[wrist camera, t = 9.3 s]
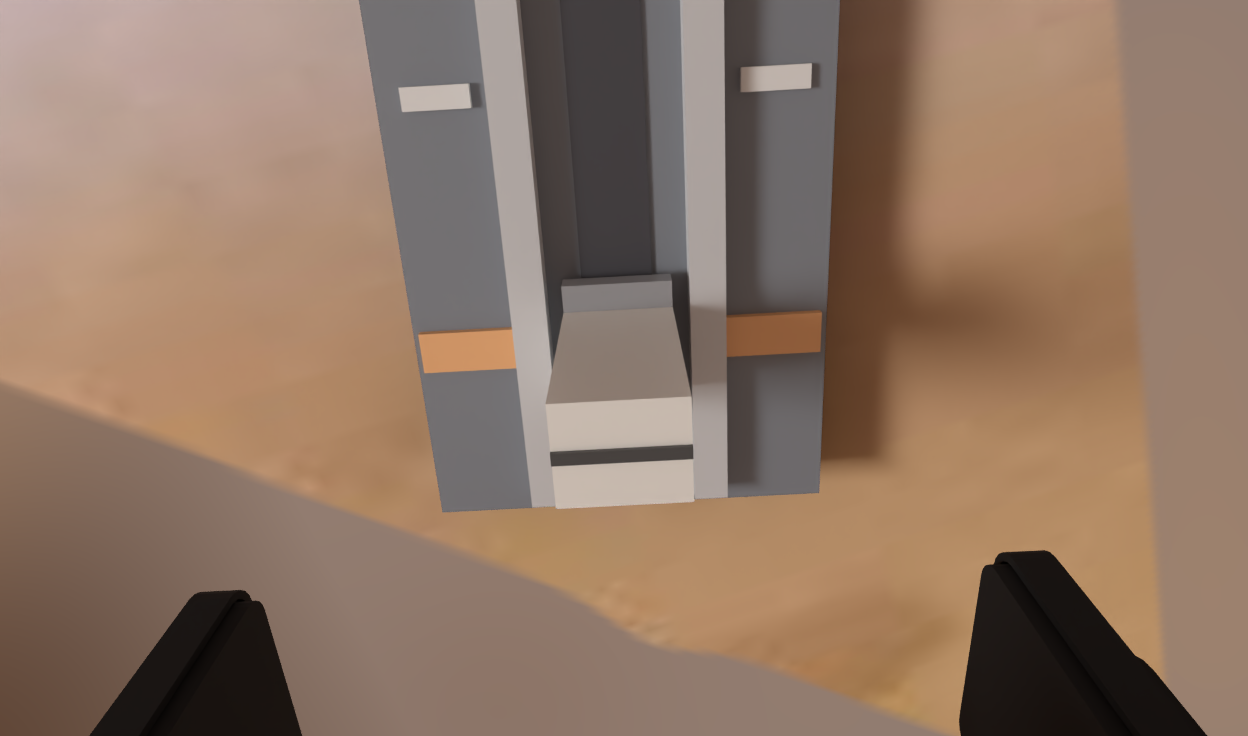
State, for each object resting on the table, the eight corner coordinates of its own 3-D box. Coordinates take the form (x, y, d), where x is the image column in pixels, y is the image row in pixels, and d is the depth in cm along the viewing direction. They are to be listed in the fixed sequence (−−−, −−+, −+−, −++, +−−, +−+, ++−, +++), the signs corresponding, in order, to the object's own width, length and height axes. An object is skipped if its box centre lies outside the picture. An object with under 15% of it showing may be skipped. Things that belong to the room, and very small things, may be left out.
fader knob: (563, 279, 22) (541, 372, 16) (670, 273, 22) (691, 364, 16) (573, 409, 24) (558, 540, 18) (674, 403, 24) (695, 534, 18)
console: (322, -375, 19) (275, -443, 16) (835, -410, 19) (870, -482, 16) (454, 480, 27) (437, 526, 25) (805, 462, 27) (825, 506, 25)
